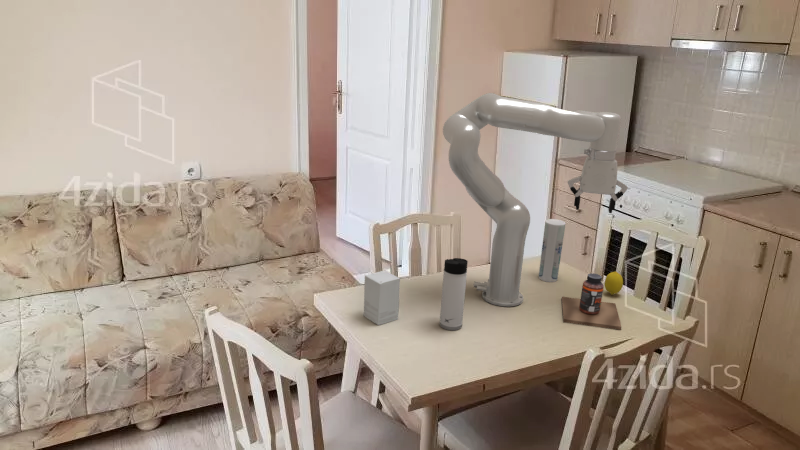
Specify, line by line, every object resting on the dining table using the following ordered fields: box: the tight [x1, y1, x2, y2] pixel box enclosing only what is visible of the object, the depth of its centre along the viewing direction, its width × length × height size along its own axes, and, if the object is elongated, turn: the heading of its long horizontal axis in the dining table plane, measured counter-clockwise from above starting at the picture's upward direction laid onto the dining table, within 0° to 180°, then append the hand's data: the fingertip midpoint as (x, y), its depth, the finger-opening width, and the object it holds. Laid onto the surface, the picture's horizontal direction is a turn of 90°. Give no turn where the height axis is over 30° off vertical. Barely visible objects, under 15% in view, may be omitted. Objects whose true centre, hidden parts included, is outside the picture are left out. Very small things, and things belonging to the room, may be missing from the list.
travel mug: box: [439, 257, 469, 331], centre depth 175 cm, size 6×7×20 cm
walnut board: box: [561, 296, 622, 331], centre depth 190 cm, size 16×16×1 cm
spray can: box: [538, 218, 567, 283], centre depth 212 cm, size 6×6×20 cm
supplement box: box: [363, 270, 401, 326], centre depth 179 cm, size 7×7×13 cm
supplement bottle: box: [579, 272, 605, 314], centre depth 188 cm, size 6×6×11 cm
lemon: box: [604, 271, 624, 296], centre depth 203 cm, size 6×6×8 cm
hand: (593, 210), depth 194 cm, fingers open, 9 cm apart
